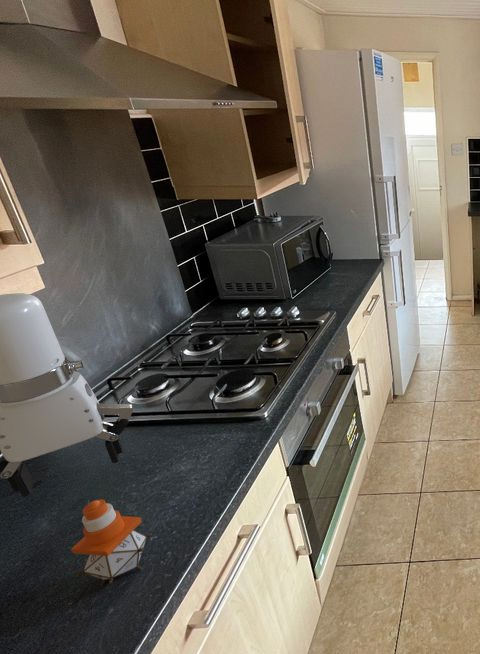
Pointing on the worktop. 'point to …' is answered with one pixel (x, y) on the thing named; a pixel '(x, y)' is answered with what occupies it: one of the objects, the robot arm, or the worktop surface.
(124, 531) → the cone
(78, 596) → the worktop surface
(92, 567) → the game die
